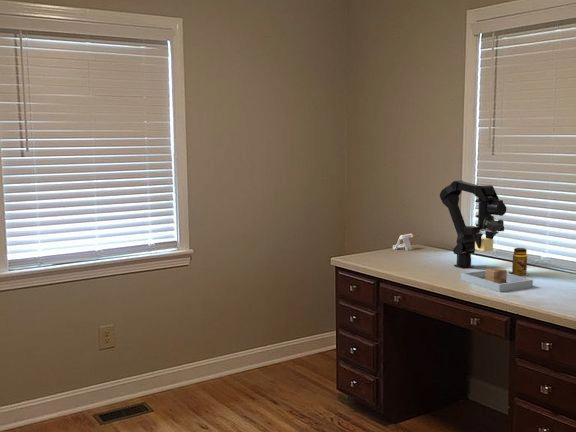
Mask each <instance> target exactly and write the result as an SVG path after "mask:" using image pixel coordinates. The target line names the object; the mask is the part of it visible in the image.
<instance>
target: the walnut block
mask: <svg viewBox="0 0 576 432" xmlns="http://www.w3.org/2000/svg"><path fill="white" fill-rule="evenodd" d="M485 270H486V272H485V277H484V279H485V280H488V281H492V282H495V283H498V284H502V283H507V280H506V278H507V273H508V270H507V269H504V268H500V267H496V268H495V267H493V268H486V269H485Z"/></svg>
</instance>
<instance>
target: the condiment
mask: <svg viewBox="0 0 576 432" xmlns="http://www.w3.org/2000/svg"><path fill="white" fill-rule="evenodd" d="M513 249H514V250H513V254H512V271H507V273H509V274H513V275H517V276H520V277H524V278H527V277H528V275H529V273H527V270H528V269H527V268H528V255H527V254H528V253H527V251H528V250H527V248H525V247H515V248H513Z"/></svg>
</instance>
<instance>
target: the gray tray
mask: <svg viewBox="0 0 576 432" xmlns="http://www.w3.org/2000/svg"><path fill="white" fill-rule="evenodd" d="M485 272H486V269H484V270H476V271H468V272H461V273H460V281H462V282H466V283H469V284H472V285H476V286H478V287H483V288H485V289H489V290H490V291H491V290H492V291H495V292H499V293H501V292H507V291H509V292H510V291H514V290H516V291H517V290H522V289H528V288H533V286H534V285H533V283H534V279H531V278H527V277H520V276H517V275H513V274H509V273H508V272H507V278H506V283H502V284H498V283H495V282H492V281H488V280H485Z"/></svg>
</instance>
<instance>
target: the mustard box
mask: <svg viewBox="0 0 576 432" xmlns="http://www.w3.org/2000/svg"><path fill="white" fill-rule="evenodd" d="M476 250H477V251H481V252H492V251H494V238H493V239H488V238H486V237H481V247H480V248H478V246H477V244H476V242H475V251H476Z"/></svg>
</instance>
